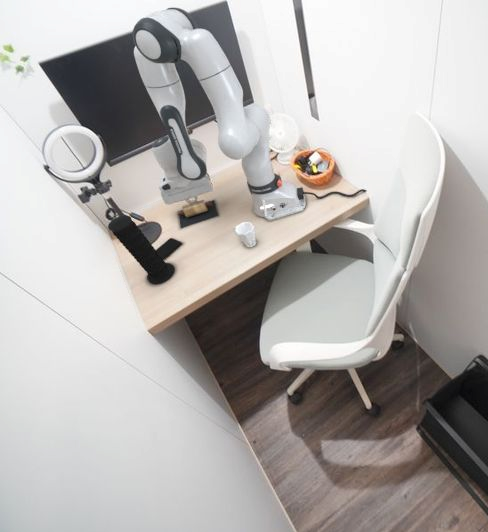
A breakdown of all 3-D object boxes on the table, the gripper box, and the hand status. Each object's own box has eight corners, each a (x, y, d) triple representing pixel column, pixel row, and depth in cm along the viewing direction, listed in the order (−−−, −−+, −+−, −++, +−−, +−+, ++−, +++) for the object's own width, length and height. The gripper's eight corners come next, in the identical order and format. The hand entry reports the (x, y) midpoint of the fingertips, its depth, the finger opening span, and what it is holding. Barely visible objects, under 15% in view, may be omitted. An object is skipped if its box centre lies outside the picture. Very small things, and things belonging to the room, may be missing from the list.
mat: (214, 200, 144) (213, 199, 144) (218, 215, 137) (218, 215, 137) (178, 212, 142) (178, 211, 141) (181, 228, 134) (180, 227, 134)
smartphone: (140, 262, 122) (170, 237, 129) (141, 264, 122) (171, 238, 130) (152, 268, 119) (182, 242, 127) (153, 269, 119) (183, 243, 127)
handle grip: (162, 259, 122) (141, 278, 117) (120, 206, 102) (93, 226, 96) (180, 268, 119) (160, 288, 113) (141, 214, 98) (114, 235, 93)
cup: (251, 252, 120) (244, 236, 114) (232, 244, 124) (224, 229, 118) (263, 240, 124) (257, 224, 118) (244, 232, 128) (237, 217, 122)
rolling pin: (214, 211, 139) (209, 201, 135) (182, 221, 136) (176, 212, 132) (212, 204, 142) (208, 195, 138) (181, 215, 139) (175, 206, 135)
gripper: (204, 166, 133) (217, 193, 143) (154, 181, 129) (171, 208, 140) (206, 173, 129) (219, 201, 139) (155, 189, 125) (172, 216, 136)
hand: (195, 204), depth 139 cm, fingers closed
